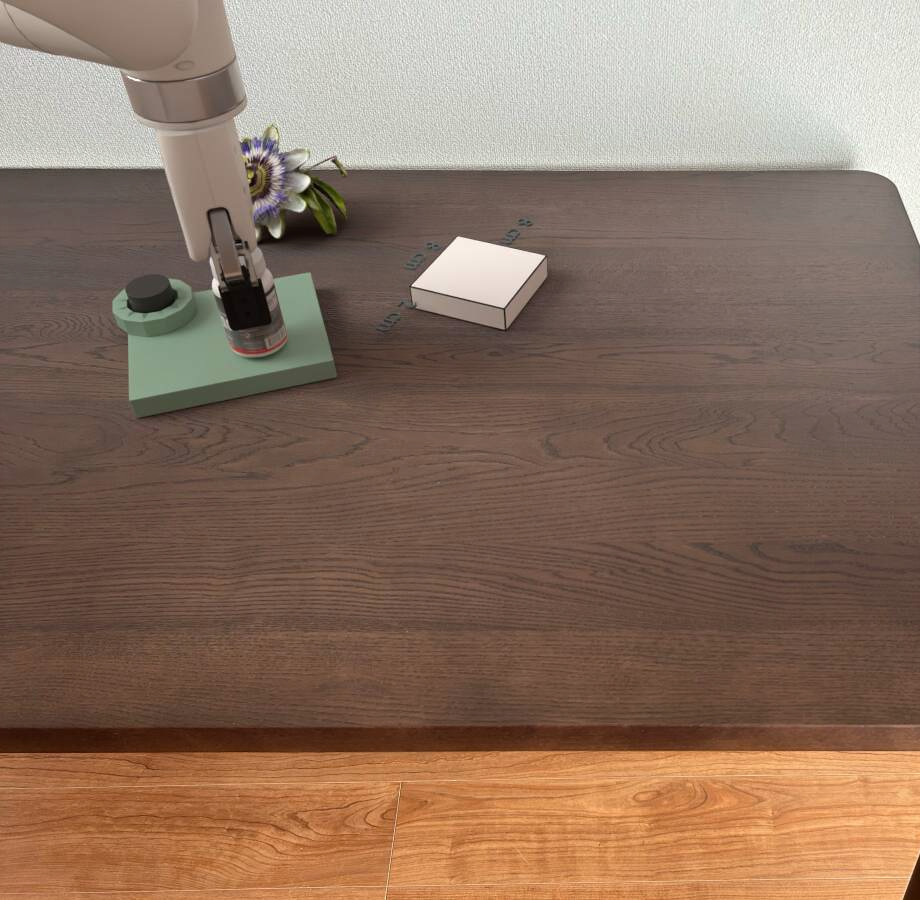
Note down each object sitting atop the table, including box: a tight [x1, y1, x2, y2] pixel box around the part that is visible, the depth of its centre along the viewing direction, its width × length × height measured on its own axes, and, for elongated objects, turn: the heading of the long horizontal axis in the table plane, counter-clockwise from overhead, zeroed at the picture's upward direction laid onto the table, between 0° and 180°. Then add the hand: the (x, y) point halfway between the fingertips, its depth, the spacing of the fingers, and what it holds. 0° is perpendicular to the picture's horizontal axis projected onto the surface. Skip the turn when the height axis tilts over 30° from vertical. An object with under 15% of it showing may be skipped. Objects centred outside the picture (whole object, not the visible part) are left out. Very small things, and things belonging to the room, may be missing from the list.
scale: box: [112, 271, 338, 419], centre depth 83 cm, size 17×15×4 cm
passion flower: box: [239, 123, 348, 243], centre depth 97 cm, size 11×11×12 cm
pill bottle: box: [209, 244, 287, 357], centre depth 79 cm, size 5×5×8 cm
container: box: [374, 217, 549, 333], centre depth 91 cm, size 20×12×3 cm, turn 159°
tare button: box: [124, 273, 175, 314], centre depth 83 cm, size 4×4×2 cm
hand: (248, 305), depth 79 cm, fingers closed on pill bottle, 4 cm apart
